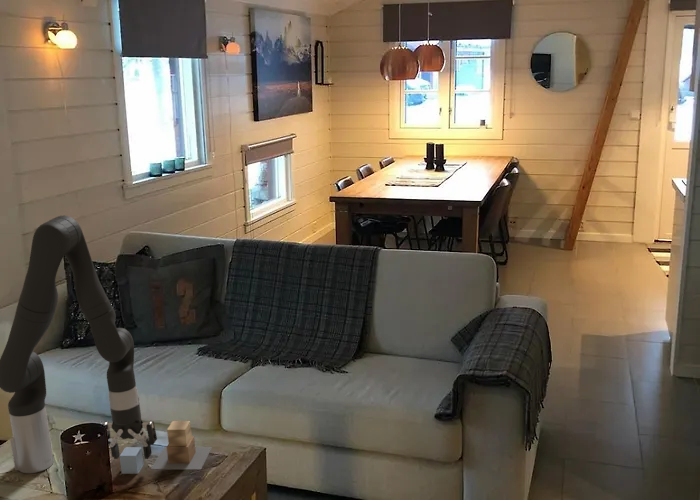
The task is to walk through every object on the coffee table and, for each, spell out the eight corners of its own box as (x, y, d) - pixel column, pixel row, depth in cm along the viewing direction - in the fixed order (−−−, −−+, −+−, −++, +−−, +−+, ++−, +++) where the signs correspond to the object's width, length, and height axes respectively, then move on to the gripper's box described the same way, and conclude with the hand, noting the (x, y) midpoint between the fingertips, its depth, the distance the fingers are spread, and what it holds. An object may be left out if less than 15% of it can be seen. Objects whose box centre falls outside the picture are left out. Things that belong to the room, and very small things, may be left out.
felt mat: (150, 471, 203) (150, 469, 203) (164, 448, 215) (164, 446, 215) (201, 471, 202) (200, 469, 202) (212, 448, 214) (212, 446, 213)
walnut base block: (168, 463, 206) (166, 447, 204) (174, 452, 211) (173, 436, 210) (189, 463, 205) (188, 447, 204) (195, 452, 211) (194, 436, 210)
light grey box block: (122, 475, 202) (119, 455, 200) (128, 466, 206) (125, 447, 204) (138, 475, 201) (135, 455, 200) (143, 466, 206) (141, 447, 204)
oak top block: (168, 446, 205) (167, 429, 204) (174, 437, 210) (172, 420, 208) (186, 446, 204) (185, 429, 203) (191, 437, 209) (190, 420, 208)
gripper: (92, 409, 195) (101, 465, 199) (145, 408, 194) (153, 464, 198) (104, 397, 202) (112, 450, 206) (155, 396, 201) (162, 450, 205)
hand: (132, 457), depth 202 cm, fingers open, 8 cm apart
